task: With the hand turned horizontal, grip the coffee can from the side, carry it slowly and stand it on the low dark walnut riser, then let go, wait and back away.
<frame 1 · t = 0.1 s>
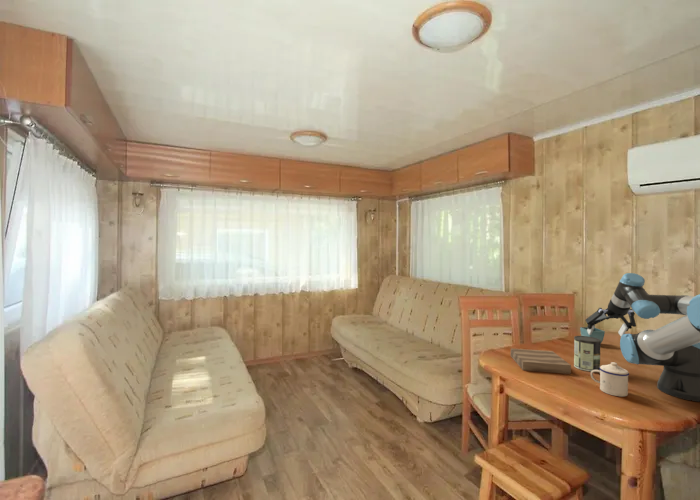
hand: (604, 333, 159), 15 cm above the table, tool tilted 35°, fingers open, 13 cm apart
coffee can: (586, 368, 155), on the table
teacup with lid: (608, 391, 130), on the table
flower pot: (592, 344, 193), on the table
walnut block: (538, 364, 159), on the table
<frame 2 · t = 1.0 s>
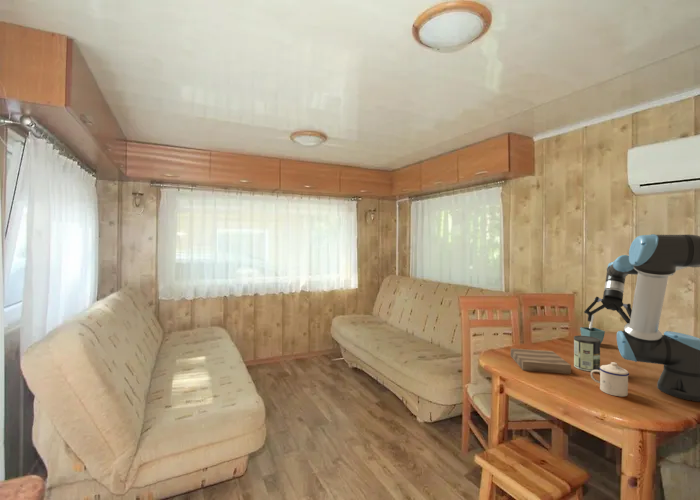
hand: (607, 332, 154), 17 cm above the table, tool tilted 30°, fingers open, 13 cm apart
nothing on the table moved.
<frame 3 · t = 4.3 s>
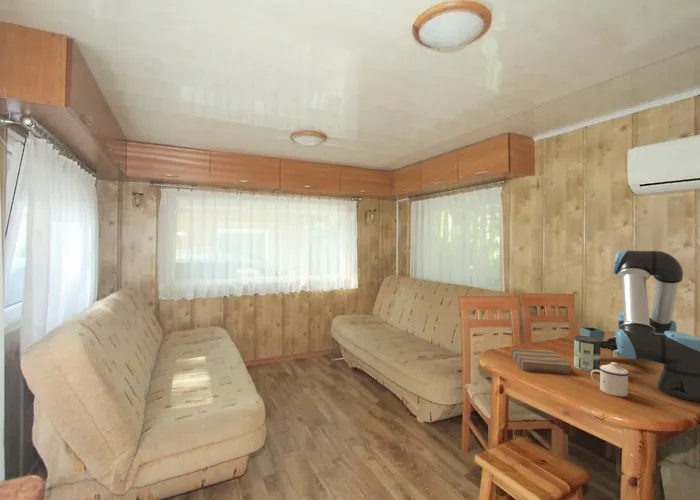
hand: (597, 349, 160), 7 cm above the table, tool horizontal, fingers open, 13 cm apart
nothing on the table moved.
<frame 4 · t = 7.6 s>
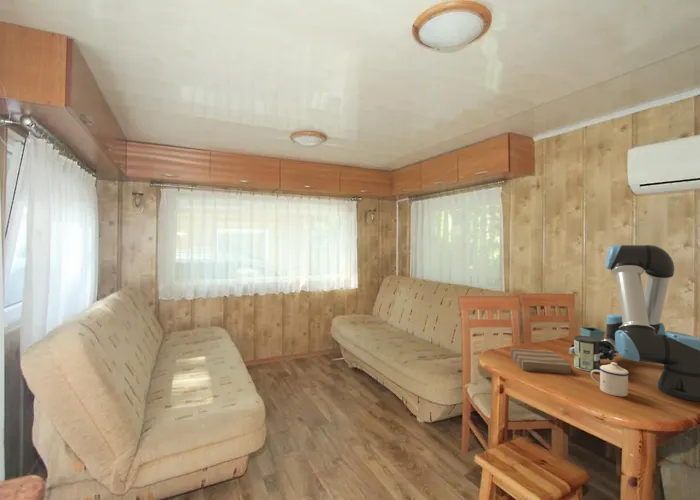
hand: (582, 354, 153), 7 cm above the table, tool horizontal, fingers closed on coffee can, 10 cm apart
coffee can: (586, 368, 155), on the table, touching gripper
everything else where it was.
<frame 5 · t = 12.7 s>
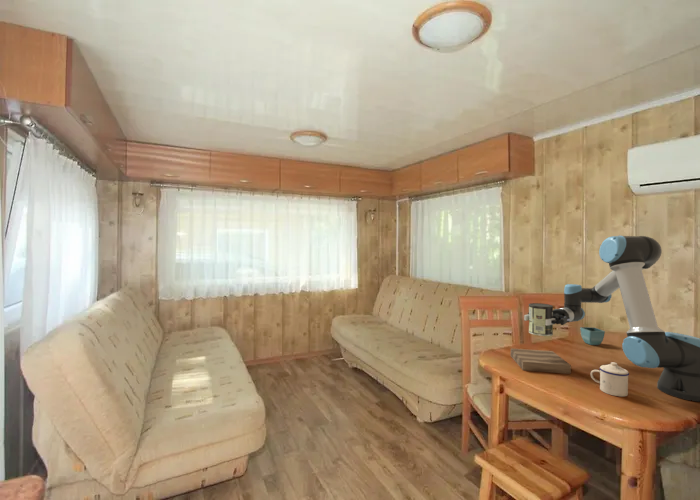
hand: (535, 320, 157), 22 cm above the table, tool horizontal, fingers closed on coffee can, 10 cm apart
coffee can: (540, 333, 159), point 15 cm above the table, touching gripper
everything else where it was.
when the fingers open (11 cm above the table, at t = 18.3 s): coffee can stays where it is, resting on walnut block.
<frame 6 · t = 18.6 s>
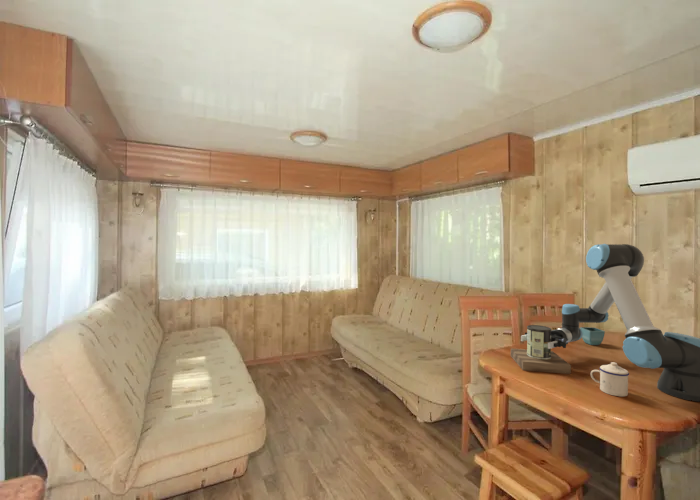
hand: (534, 342, 157), 11 cm above the table, tool horizontal, fingers open, 13 cm apart
coffee can: (538, 356, 159), point 4 cm above the table, touching walnut block
everything else where it was.
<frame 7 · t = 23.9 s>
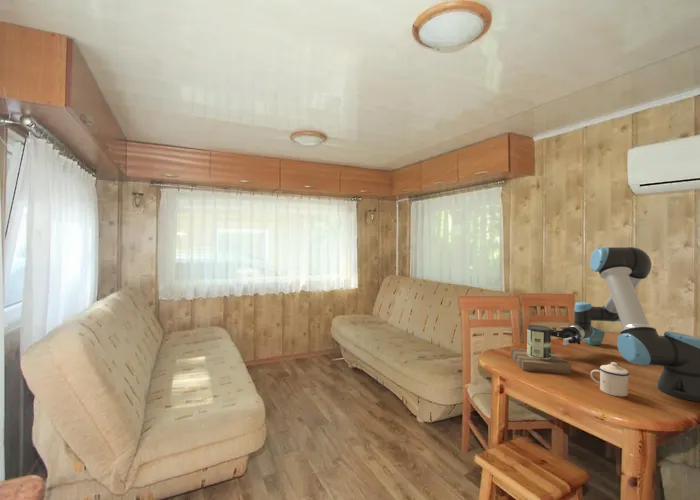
hand: (549, 338, 163), 11 cm above the table, tool horizontal, fingers open, 13 cm apart
nothing on the table moved.
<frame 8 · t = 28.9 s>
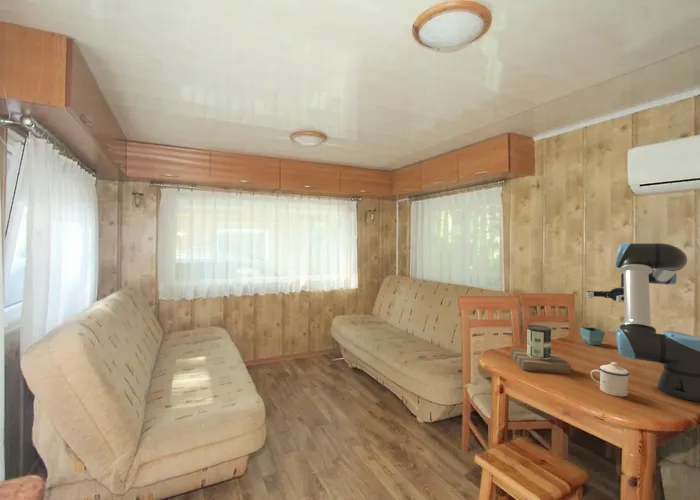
hand: (601, 296, 167), 32 cm above the table, tool horizontal, fingers open, 13 cm apart
nothing on the table moved.
at the end: coffee can inside the target area on the walnut block (0.1 cm from its centre), point 3.8 cm above the walnut block's base; coffee can tilted 0°; the gripper is holding nothing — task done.
